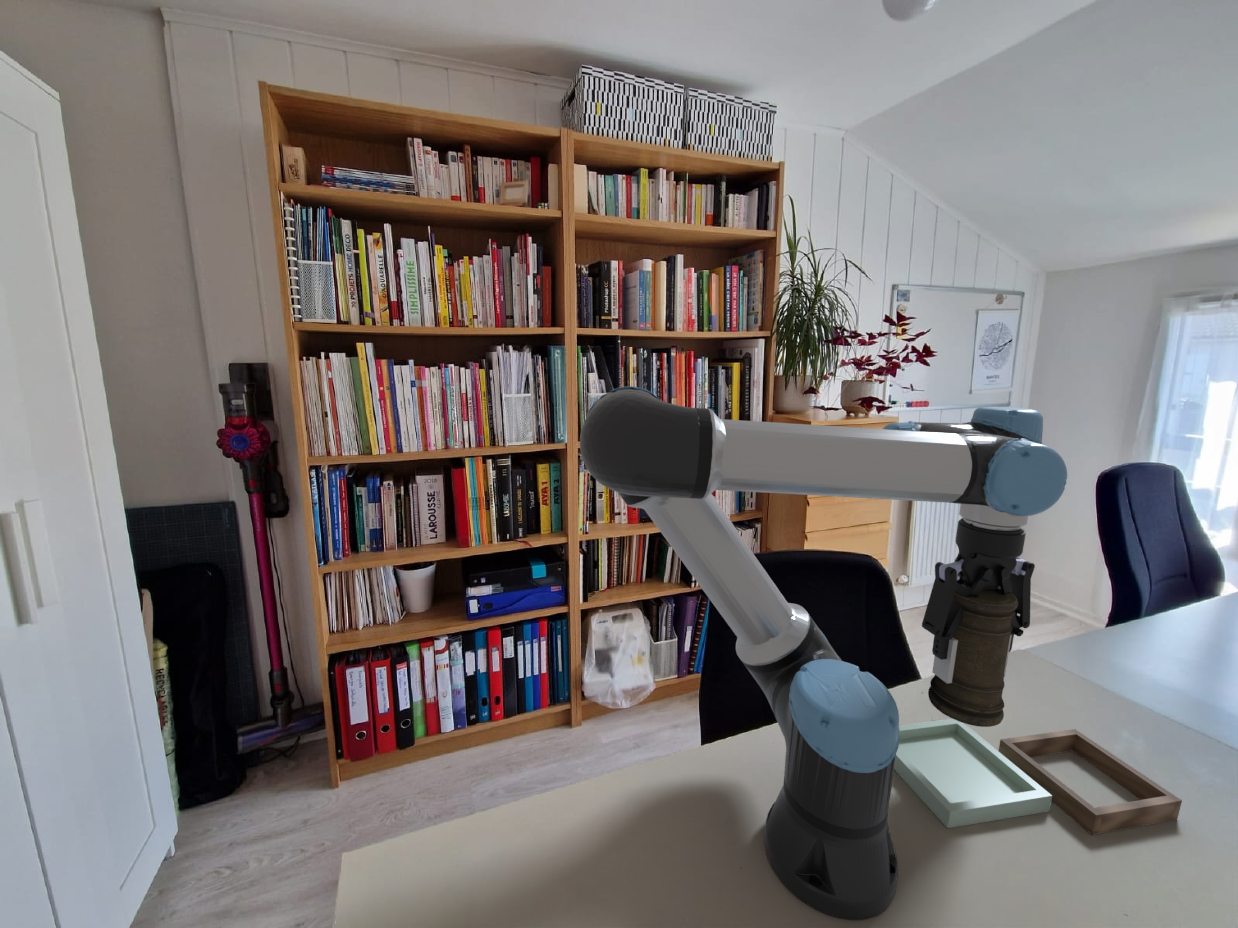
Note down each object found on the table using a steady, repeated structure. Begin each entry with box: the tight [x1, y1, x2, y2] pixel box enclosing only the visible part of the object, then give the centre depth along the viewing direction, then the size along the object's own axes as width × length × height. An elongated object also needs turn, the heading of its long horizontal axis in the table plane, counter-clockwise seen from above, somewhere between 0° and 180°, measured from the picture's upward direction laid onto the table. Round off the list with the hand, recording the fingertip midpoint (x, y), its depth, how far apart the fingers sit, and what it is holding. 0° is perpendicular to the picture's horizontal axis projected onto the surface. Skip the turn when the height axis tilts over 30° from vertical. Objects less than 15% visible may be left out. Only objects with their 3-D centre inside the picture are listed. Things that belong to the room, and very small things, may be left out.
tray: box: [894, 718, 1052, 829], centre depth 77 cm, size 16×16×2 cm
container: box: [927, 583, 1018, 728], centre depth 74 cm, size 9×9×18 cm
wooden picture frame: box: [998, 728, 1183, 836], centre depth 75 cm, size 14×14×3 cm
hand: (968, 674), depth 74 cm, fingers closed on container, 8 cm apart
